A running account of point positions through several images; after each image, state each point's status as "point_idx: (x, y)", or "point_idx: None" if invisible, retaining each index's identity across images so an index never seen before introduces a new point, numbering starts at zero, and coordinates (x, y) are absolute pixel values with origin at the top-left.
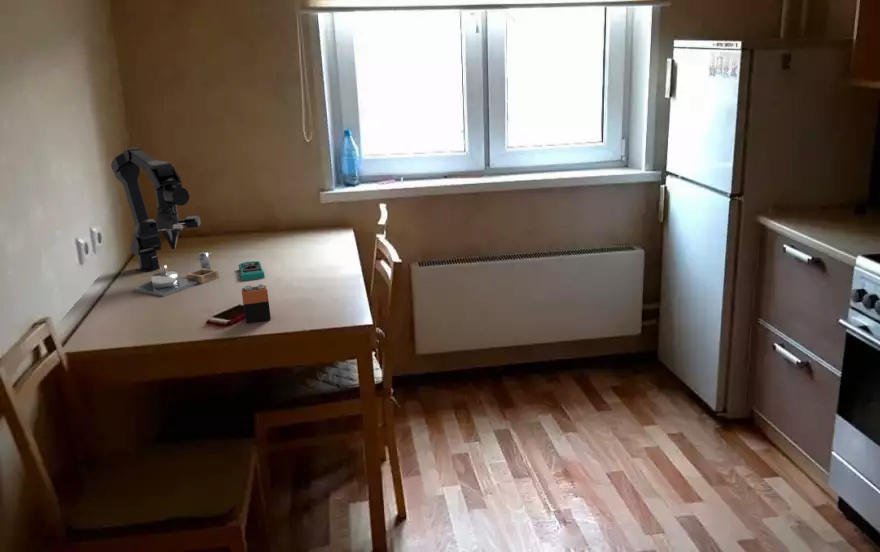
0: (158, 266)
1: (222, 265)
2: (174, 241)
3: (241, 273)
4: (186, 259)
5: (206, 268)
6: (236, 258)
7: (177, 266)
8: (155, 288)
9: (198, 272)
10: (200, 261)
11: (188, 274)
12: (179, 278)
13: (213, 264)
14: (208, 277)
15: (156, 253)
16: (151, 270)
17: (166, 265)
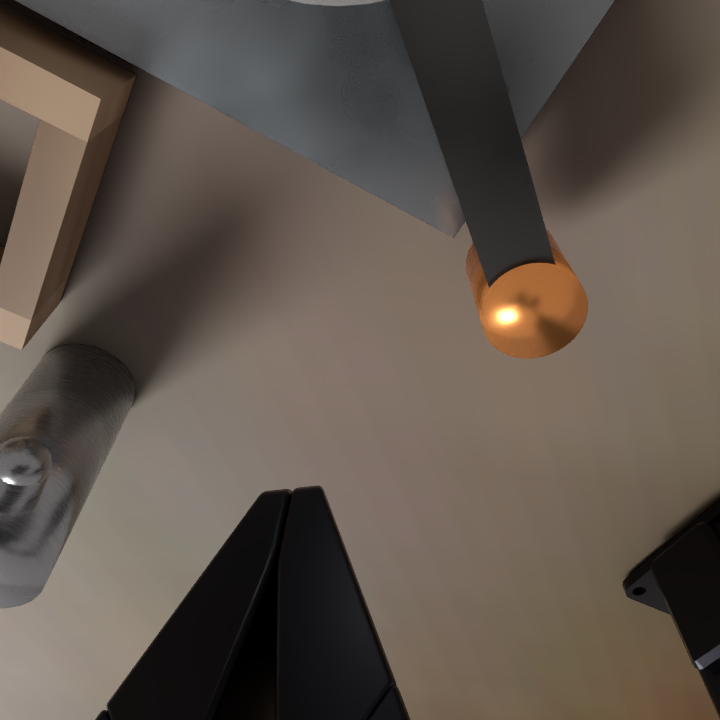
0: (656, 563)
1: (68, 569)
2: (175, 656)
3: None
4: (465, 708)
5: (25, 387)
6: (60, 690)
7: (487, 586)
8: None
9: (17, 230)
10: (59, 456)
11: (62, 79)
12: (248, 101)
13: (172, 597)
14: None
15: (713, 698)
16: (713, 506)
17: (482, 318)
